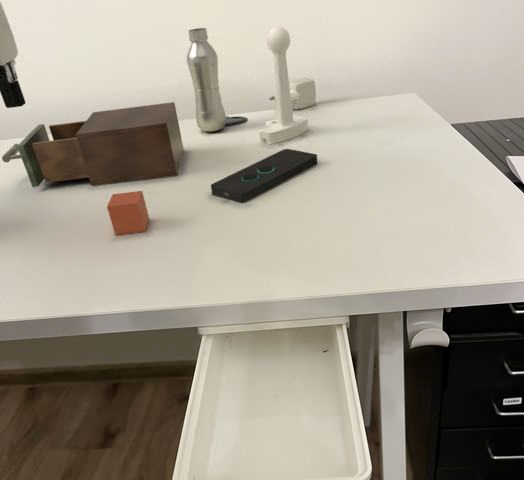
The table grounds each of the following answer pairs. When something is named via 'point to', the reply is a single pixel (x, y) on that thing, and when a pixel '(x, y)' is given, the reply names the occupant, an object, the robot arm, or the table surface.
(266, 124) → the joystick
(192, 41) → the metal water bottle
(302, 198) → the table surface
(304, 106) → the power adapter
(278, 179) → the smart home device
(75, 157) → the drawer
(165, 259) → the table surface
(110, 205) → the block
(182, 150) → the cabinet
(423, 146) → the table surface
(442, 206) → the table surface
